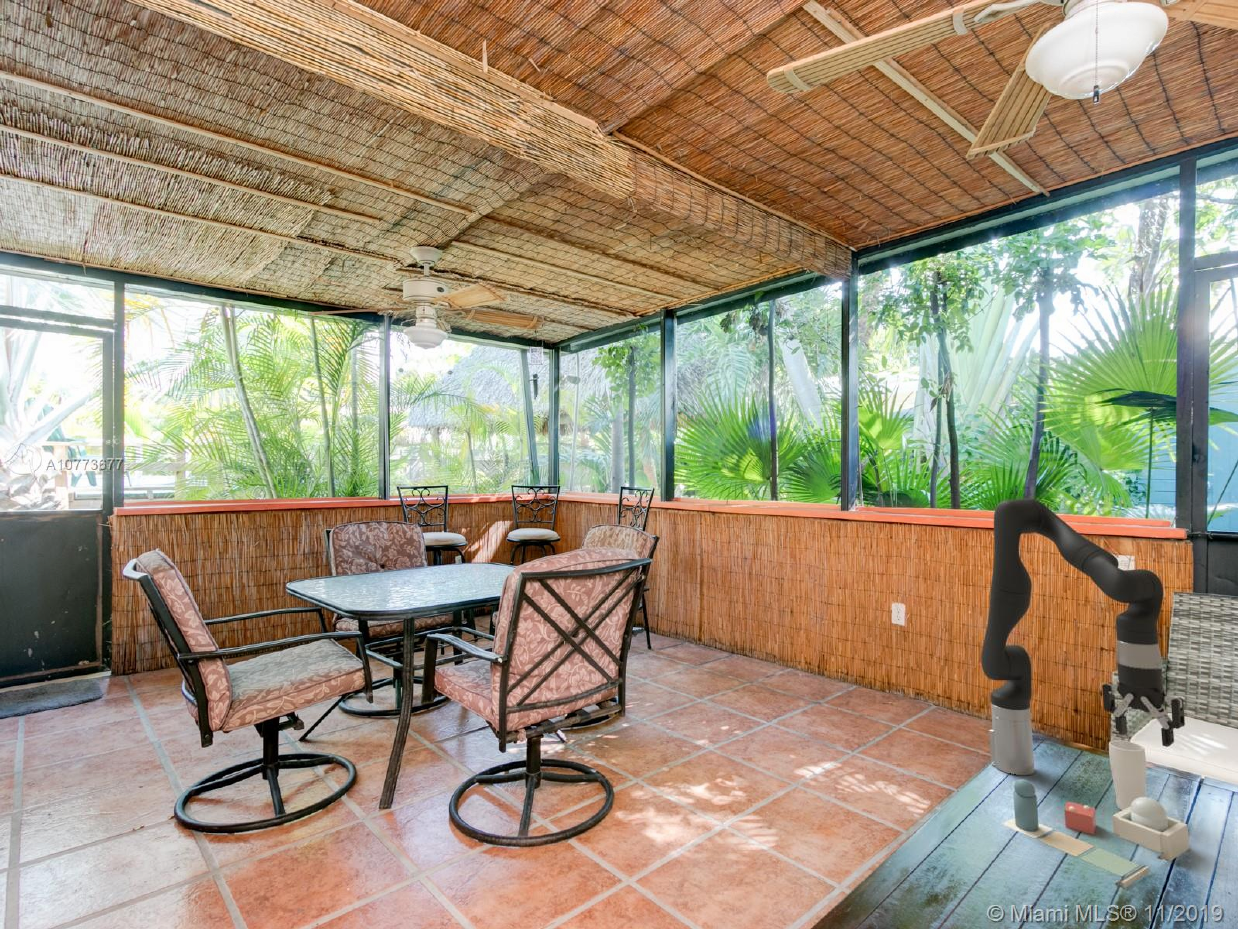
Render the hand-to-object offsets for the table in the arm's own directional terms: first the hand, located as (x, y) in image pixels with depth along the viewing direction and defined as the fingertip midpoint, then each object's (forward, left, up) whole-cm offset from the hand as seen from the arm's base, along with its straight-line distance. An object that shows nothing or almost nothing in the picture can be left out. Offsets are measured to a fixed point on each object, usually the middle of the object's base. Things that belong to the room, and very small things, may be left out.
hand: (1144, 739), depth 136 cm
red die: (-10, -7, -22) cm, 25 cm away
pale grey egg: (0, 0, -19) cm, 19 cm away
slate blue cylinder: (-16, -17, -21) cm, 31 cm away
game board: (-8, -17, -22) cm, 29 cm away
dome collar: (0, 0, -22) cm, 22 cm away
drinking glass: (-9, +13, -22) cm, 27 cm away
